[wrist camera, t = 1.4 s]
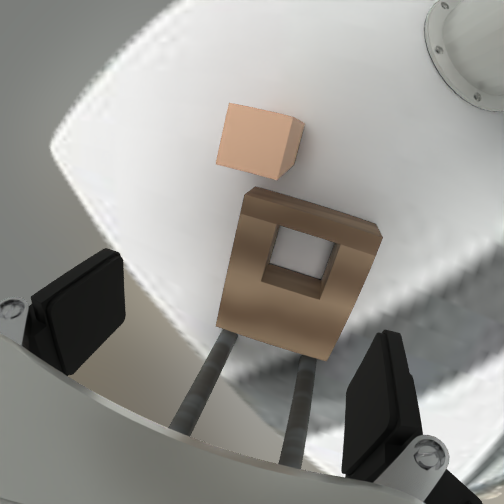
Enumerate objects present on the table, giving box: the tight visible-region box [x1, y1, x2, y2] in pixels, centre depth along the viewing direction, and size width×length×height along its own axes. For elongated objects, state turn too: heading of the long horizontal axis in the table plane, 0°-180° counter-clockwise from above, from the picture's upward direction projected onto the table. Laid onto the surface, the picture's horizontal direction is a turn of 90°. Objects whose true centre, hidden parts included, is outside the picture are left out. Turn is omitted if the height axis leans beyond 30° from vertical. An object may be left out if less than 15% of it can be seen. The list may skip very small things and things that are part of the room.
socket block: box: [168, 186, 383, 469], centre depth 22 cm, size 20×12×23 cm, turn 166°
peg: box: [216, 103, 305, 180], centre depth 22 cm, size 4×4×10 cm
